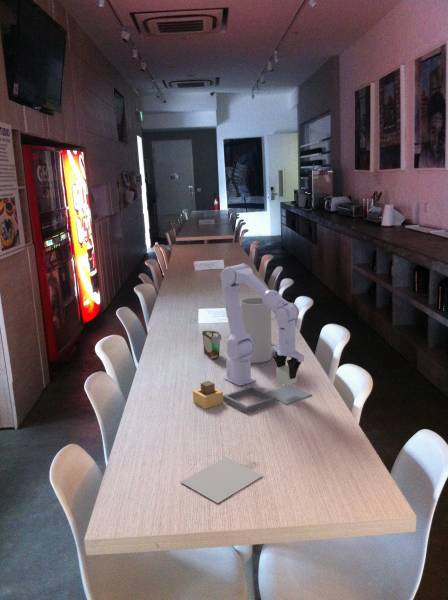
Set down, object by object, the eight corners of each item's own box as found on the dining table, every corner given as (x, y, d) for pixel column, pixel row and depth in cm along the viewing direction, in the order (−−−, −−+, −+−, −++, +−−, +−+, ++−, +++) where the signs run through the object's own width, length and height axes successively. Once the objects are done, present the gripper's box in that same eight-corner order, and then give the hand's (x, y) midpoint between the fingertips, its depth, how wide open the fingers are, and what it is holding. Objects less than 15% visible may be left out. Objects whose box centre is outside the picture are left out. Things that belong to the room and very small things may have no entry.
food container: (226, 358, 236) (225, 336, 234) (212, 361, 234) (212, 338, 232) (216, 350, 248) (215, 328, 245) (202, 352, 245) (202, 330, 243)
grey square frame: (222, 401, 194) (222, 395, 194) (252, 391, 202) (251, 386, 201) (246, 413, 184) (246, 407, 184) (276, 402, 192) (276, 397, 191)
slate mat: (263, 394, 199) (263, 392, 199) (288, 385, 206) (288, 384, 206) (286, 404, 190) (286, 403, 190) (311, 395, 197) (311, 394, 197)
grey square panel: (157, 471, 152) (157, 468, 152) (222, 438, 169) (222, 436, 169) (217, 505, 136) (217, 503, 135) (283, 465, 153) (283, 463, 153)
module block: (276, 381, 197) (276, 368, 196) (286, 377, 200) (286, 364, 199) (286, 385, 193) (286, 371, 192) (296, 381, 196) (296, 368, 195)
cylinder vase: (235, 358, 236) (234, 301, 230) (257, 351, 244) (256, 295, 238) (256, 366, 227) (254, 306, 221) (277, 358, 235) (277, 300, 229)
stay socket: (193, 401, 195) (192, 391, 194) (210, 396, 199) (210, 385, 198) (205, 408, 189) (205, 397, 188) (223, 402, 193) (222, 391, 192)
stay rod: (201, 402, 194) (200, 383, 192) (209, 399, 196) (208, 380, 194) (207, 405, 192) (206, 386, 190) (215, 402, 194) (214, 383, 192)
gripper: (264, 336, 196) (265, 372, 200) (293, 346, 185) (293, 384, 188) (279, 332, 201) (279, 368, 204) (308, 341, 189) (308, 379, 192)
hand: (287, 375), depth 196 cm, fingers closed on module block, 5 cm apart
